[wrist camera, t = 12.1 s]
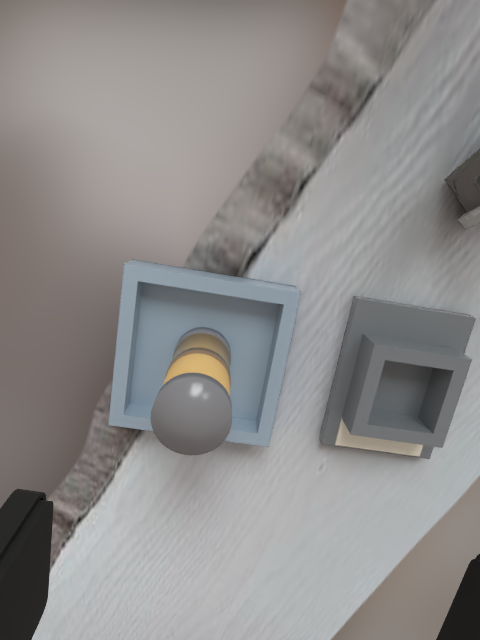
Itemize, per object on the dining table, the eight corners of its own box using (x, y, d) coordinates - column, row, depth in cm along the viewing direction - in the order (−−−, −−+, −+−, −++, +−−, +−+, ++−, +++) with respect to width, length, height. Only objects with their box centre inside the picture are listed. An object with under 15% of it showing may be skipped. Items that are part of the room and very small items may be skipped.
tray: (132, 259, 29) (124, 263, 27) (295, 286, 30) (301, 292, 28) (117, 409, 32) (108, 425, 30) (265, 429, 33) (268, 447, 31)
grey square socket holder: (354, 295, 31) (369, 306, 27) (468, 314, 31) (497, 327, 28) (319, 437, 34) (329, 462, 30) (423, 451, 34) (445, 478, 31)
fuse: (179, 322, 30) (155, 376, 20) (235, 331, 30) (238, 388, 21) (171, 375, 31) (146, 449, 21) (226, 383, 31) (225, 459, 22)
